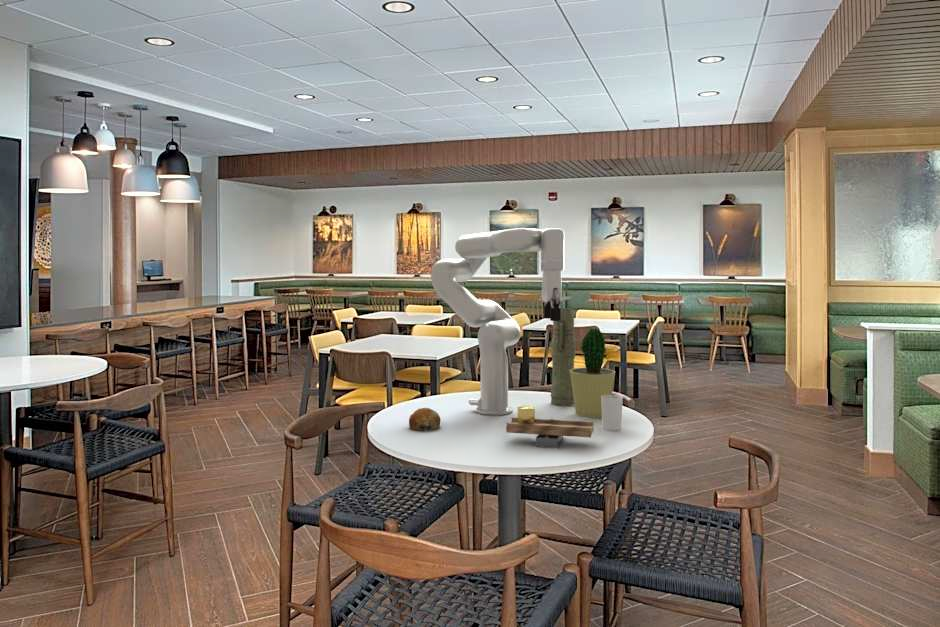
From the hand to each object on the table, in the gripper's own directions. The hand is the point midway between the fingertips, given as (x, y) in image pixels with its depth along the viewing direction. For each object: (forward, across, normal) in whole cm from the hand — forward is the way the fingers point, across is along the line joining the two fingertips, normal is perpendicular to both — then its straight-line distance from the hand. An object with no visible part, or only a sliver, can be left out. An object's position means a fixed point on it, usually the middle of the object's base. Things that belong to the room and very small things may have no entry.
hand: (552, 319), depth 232 cm
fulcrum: (+33, +28, -6) cm, 44 cm away
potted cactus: (+34, -8, +16) cm, 38 cm away
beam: (+29, +28, -6) cm, 41 cm away
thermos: (+33, -27, +10) cm, 44 cm away
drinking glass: (+34, +13, +16) cm, 39 cm away
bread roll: (+34, +6, -42) cm, 54 cm away
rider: (+28, +26, -13) cm, 40 cm away
